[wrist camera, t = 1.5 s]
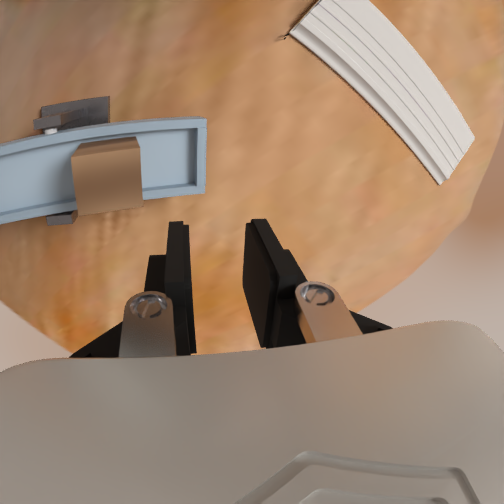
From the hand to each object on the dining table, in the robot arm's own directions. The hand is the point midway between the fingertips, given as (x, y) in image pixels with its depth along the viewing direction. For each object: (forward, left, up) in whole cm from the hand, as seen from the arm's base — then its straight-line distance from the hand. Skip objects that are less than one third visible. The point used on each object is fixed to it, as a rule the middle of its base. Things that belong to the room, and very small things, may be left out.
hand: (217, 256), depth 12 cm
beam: (0, -14, -16) cm, 21 cm away
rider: (0, -8, -17) cm, 18 cm away
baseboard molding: (-9, +25, -24) cm, 36 cm away
